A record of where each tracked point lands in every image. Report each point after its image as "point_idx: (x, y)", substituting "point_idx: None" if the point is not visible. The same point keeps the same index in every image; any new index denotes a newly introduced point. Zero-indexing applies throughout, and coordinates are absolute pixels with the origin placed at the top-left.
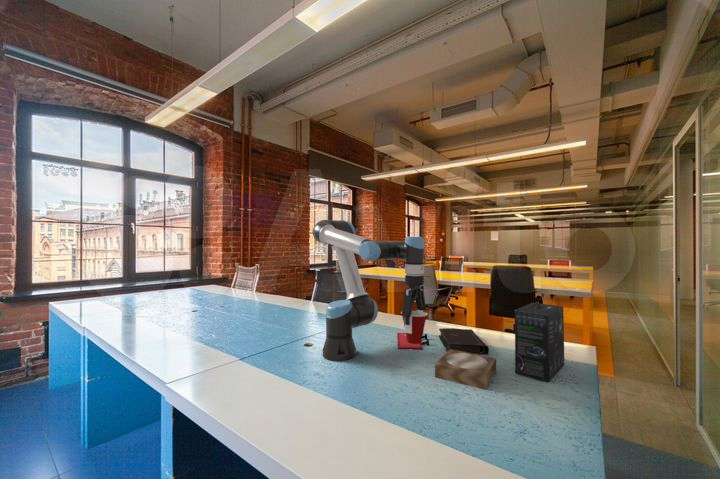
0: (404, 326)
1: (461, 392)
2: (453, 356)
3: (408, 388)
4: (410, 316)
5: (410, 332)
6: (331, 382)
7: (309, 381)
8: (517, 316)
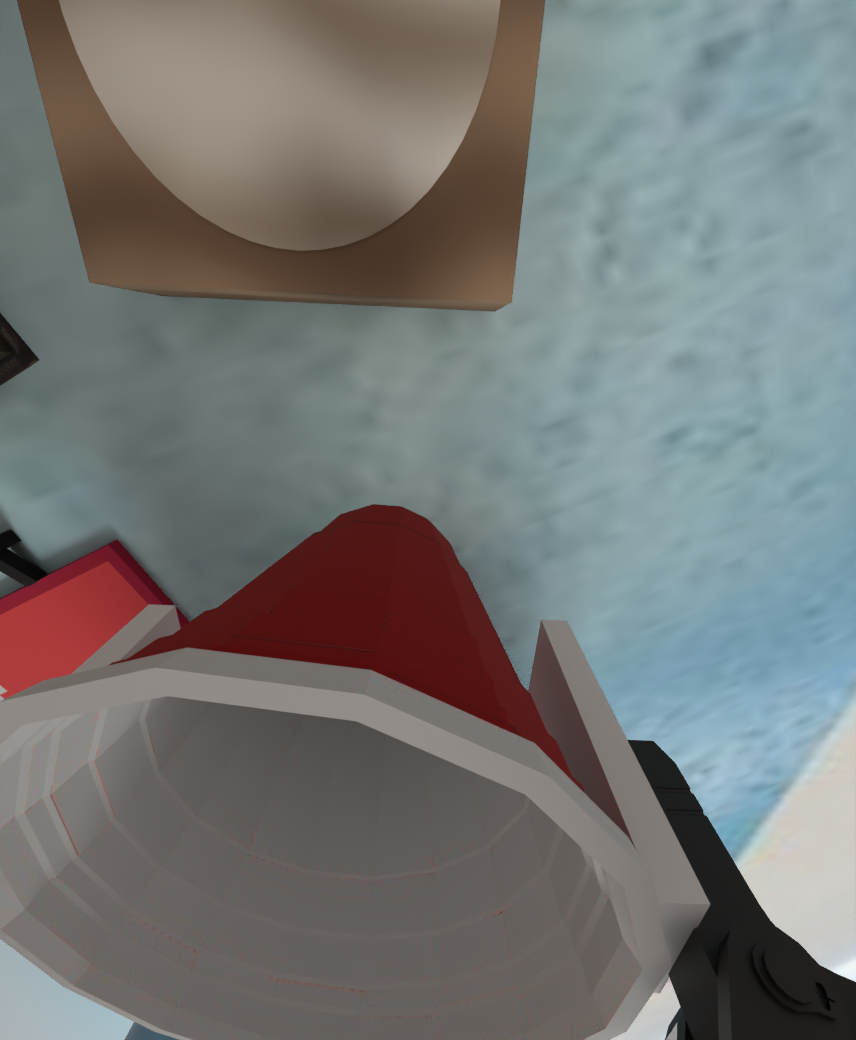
0: (435, 761)
1: (669, 18)
2: (259, 178)
3: (709, 408)
4: (731, 926)
5: (569, 637)
6: (740, 720)
7: (752, 778)
8: None
